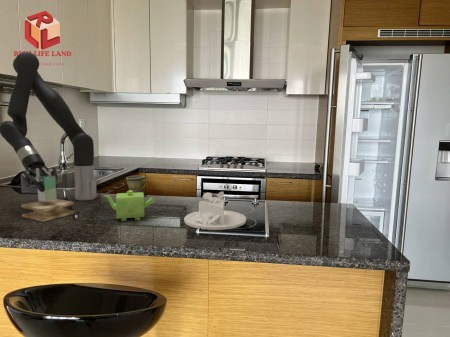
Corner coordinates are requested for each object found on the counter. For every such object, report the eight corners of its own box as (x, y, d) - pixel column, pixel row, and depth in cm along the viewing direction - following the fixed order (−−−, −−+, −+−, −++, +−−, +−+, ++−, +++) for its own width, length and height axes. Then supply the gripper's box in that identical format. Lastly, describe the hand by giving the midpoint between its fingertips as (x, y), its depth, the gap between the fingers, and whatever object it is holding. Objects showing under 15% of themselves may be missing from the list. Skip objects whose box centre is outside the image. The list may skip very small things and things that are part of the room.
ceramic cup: (122, 196, 174) (121, 177, 173) (135, 192, 183) (135, 175, 182) (141, 198, 168) (140, 179, 167) (153, 195, 177) (153, 177, 176)
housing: (49, 198, 139) (48, 175, 138) (56, 199, 137) (55, 176, 135) (38, 200, 135) (36, 176, 134) (45, 202, 133) (44, 177, 131)
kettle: (103, 219, 131) (102, 192, 129) (129, 211, 143) (128, 186, 142) (132, 225, 124) (131, 196, 123) (156, 216, 136) (155, 190, 135)
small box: (46, 191, 183) (45, 173, 182) (39, 194, 177) (37, 175, 176) (29, 191, 184) (27, 173, 183) (20, 193, 178) (19, 174, 177)
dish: (177, 215, 139) (177, 189, 137) (232, 210, 148) (232, 186, 146) (193, 233, 116) (193, 202, 114) (256, 226, 125) (257, 197, 123)
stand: (54, 209, 146) (53, 198, 145) (74, 213, 139) (73, 202, 139) (22, 216, 134) (21, 204, 133) (42, 221, 127) (41, 209, 127)
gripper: (16, 154, 131) (36, 186, 126) (50, 151, 143) (69, 181, 139) (9, 166, 134) (29, 198, 130) (43, 163, 146) (62, 192, 142)
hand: (49, 189), depth 134 cm, fingers closed on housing, 4 cm apart
